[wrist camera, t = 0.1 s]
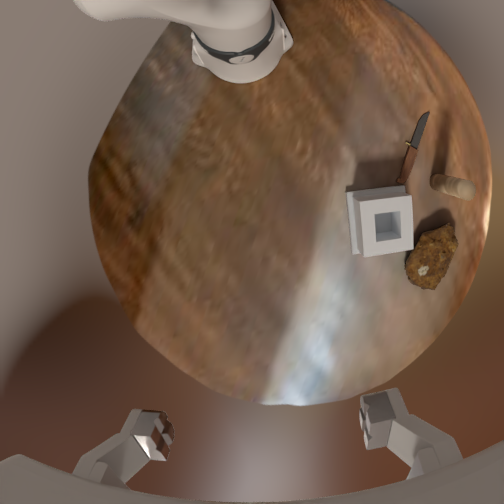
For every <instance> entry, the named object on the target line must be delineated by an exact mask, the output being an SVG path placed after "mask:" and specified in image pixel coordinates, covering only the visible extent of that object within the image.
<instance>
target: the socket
mask: <svg viewBox="0 0 504 504" xmlns="http://www.w3.org/2000/svg"><path fill="white" fill-rule="evenodd" d="M345 193H346V201H347V211H348V220H349V231H350V242H351V253H352V254H358V253H361V254H362V256H363V257H370V256H376V255H382V254H388V253H394V252H400V251H406V250H412V249H414V248H413V212H412V195H409V194H406V192H405V186H404V185H401V186H391V187H382V188H374V189H365V190H357V191H349V192H345Z"/></svg>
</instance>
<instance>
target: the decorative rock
mask: <svg viewBox="0 0 504 504" xmlns="http://www.w3.org/2000/svg"><path fill="white" fill-rule="evenodd" d="M457 241H458V240H457V239H456V237H455V230H454V227H453V226H451V225H450V223H447V224H446V225H443V226H441V227H440V228H437V229H435V230H433V231H430V230H429V231H427V232H423V233H422V235H421V237H420V239H419V240H418V242H417V245H416V247H415V248H414V249H413V250H412V251H411V253H410V255H409V257H408V259H407V261H406V265H405V268H404V269H405V270H406V275H407V276H408V280H409V281H410V282H411V283H412V284H414V285H417V286H419V287H421V288H422V289H431V290H435V288H436V287H437V285H438V283H439V282H440V281H441V279H442V278H443V277H444V276H445V274H446V272H447V270H448V268H449V264H450V262H451V260H452V258H453V255H454V252H455V251H456V248H457V246H458V242H457Z"/></svg>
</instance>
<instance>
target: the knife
mask: <svg viewBox="0 0 504 504" xmlns="http://www.w3.org/2000/svg"><path fill="white" fill-rule="evenodd" d="M429 113H430V112H428V113H426V114H424V115H423V116H422V117H421V119H420V120H419V122H418V125H417V128H416V130H415V133H414V136H413V138H412V141H411V143H410V144H409V143H407V142H406V144H408V145H409V147H408V150H407V153H406V156H405V159H404V163H403V167H402V171H401V175H400V179H399V178H397V180H396V182H398V183H404V182H405V181H406V180H407V178H408V176H409V174H410V172H411V170H412V167H413V164H414V161H415V159H416V156H417V153H418V150H417V148H418V145H419V142H420V139H421V136H422V134H423V131H424V128H425V125H426V122H427V119H428V116H429Z"/></svg>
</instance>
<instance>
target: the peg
mask: <svg viewBox="0 0 504 504" xmlns="http://www.w3.org/2000/svg"><path fill="white" fill-rule="evenodd" d="M430 186H431V188H432V189H434V190H437V191H440V192H443V193H446V194H449V195H452V196H455V197H458V198H462V199H464V200H468V201H469V200H472V199H473V198H474V196H475V193H476V188H475V185H474V183H473V182H472V181H469V180H465V179H460V178H456V177H451V176H446V175H441V174H433V175H432V176H431V178H430Z"/></svg>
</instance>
